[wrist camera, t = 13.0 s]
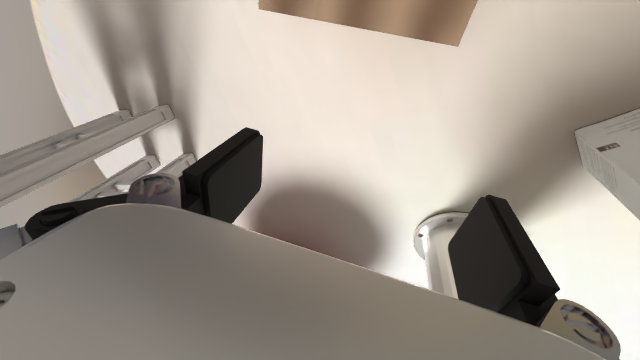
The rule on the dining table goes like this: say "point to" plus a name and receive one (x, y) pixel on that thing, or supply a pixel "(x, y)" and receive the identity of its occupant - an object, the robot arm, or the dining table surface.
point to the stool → (86, 155)
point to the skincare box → (614, 156)
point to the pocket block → (387, 16)
